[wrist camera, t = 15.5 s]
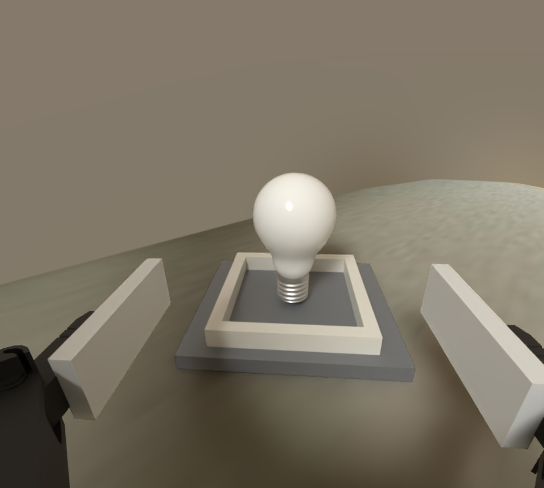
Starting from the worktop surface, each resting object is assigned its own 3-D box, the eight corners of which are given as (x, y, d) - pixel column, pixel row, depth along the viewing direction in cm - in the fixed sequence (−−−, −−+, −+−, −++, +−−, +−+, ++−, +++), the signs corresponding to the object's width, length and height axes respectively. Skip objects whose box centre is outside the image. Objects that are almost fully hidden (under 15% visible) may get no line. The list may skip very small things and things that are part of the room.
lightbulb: (325, 281, 29) (335, 165, 24) (332, 326, 23) (346, 184, 18) (260, 279, 29) (257, 165, 24) (251, 322, 23) (244, 183, 19)
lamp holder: (176, 368, 21) (170, 338, 20) (223, 269, 34) (221, 247, 32) (411, 381, 20) (419, 351, 18) (368, 273, 32) (371, 250, 31)
